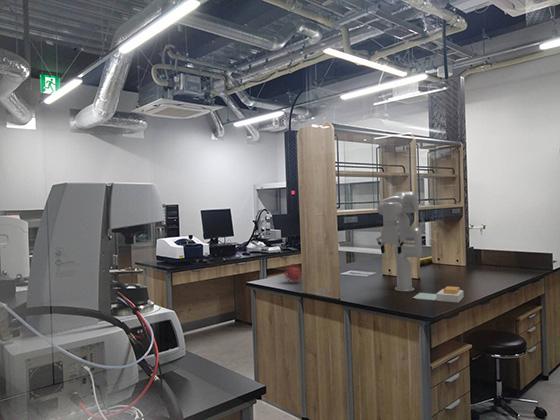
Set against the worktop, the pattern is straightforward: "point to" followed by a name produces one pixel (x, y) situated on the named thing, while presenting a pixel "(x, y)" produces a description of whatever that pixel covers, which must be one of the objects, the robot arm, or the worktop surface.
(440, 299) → the platform
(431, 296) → the mat
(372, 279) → the worktop surface
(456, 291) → the slide box
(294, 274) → the virus model
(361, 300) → the worktop surface
